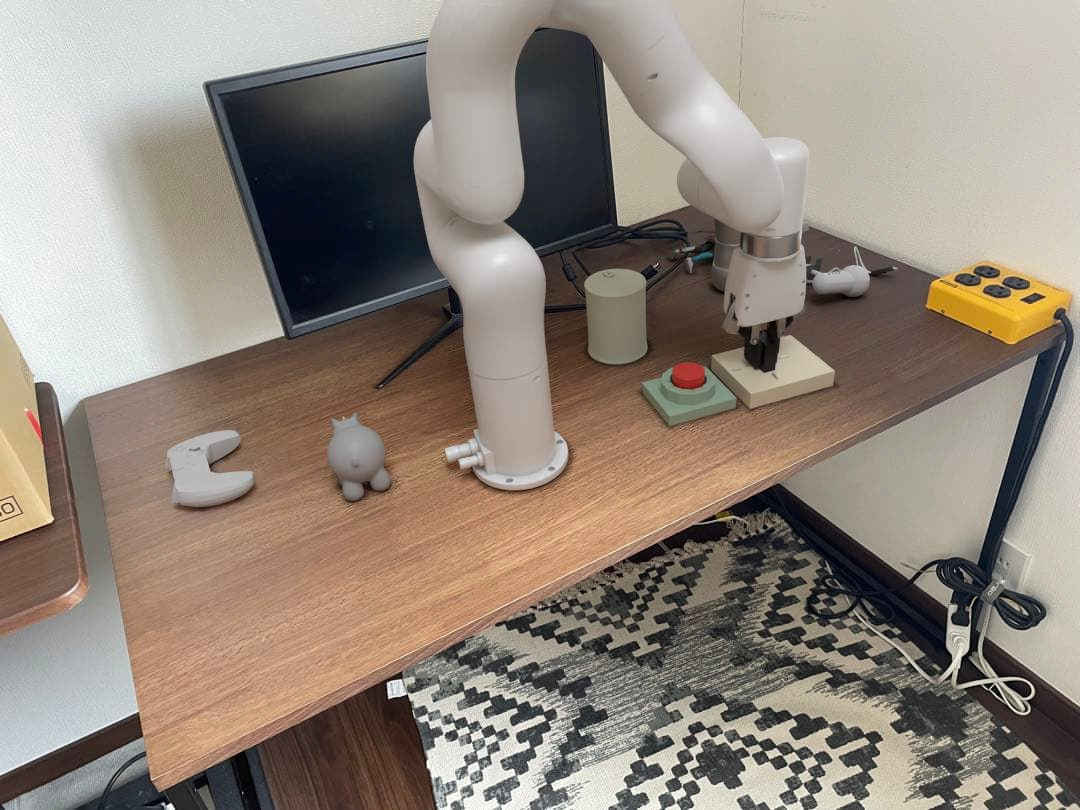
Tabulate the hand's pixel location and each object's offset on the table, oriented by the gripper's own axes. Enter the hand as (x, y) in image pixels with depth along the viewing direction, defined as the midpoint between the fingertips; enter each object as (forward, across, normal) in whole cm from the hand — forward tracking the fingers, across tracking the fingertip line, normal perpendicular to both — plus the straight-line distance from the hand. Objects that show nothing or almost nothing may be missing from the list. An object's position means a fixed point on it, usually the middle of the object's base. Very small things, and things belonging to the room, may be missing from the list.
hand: (760, 360), depth 114 cm
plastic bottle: (+3, -10, -26) cm, 29 cm away
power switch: (+3, +12, 0) cm, 12 cm away
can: (+3, +15, -16) cm, 23 cm away
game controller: (+3, +76, -10) cm, 77 cm away
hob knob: (0, 0, 0) cm, 0 cm away
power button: (0, +11, +1) cm, 12 cm away
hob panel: (+3, -2, 0) cm, 3 cm away
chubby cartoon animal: (+3, +57, -2) cm, 57 cm away
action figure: (+3, -15, -38) cm, 41 cm away
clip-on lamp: (+3, -26, -18) cm, 32 cm away
